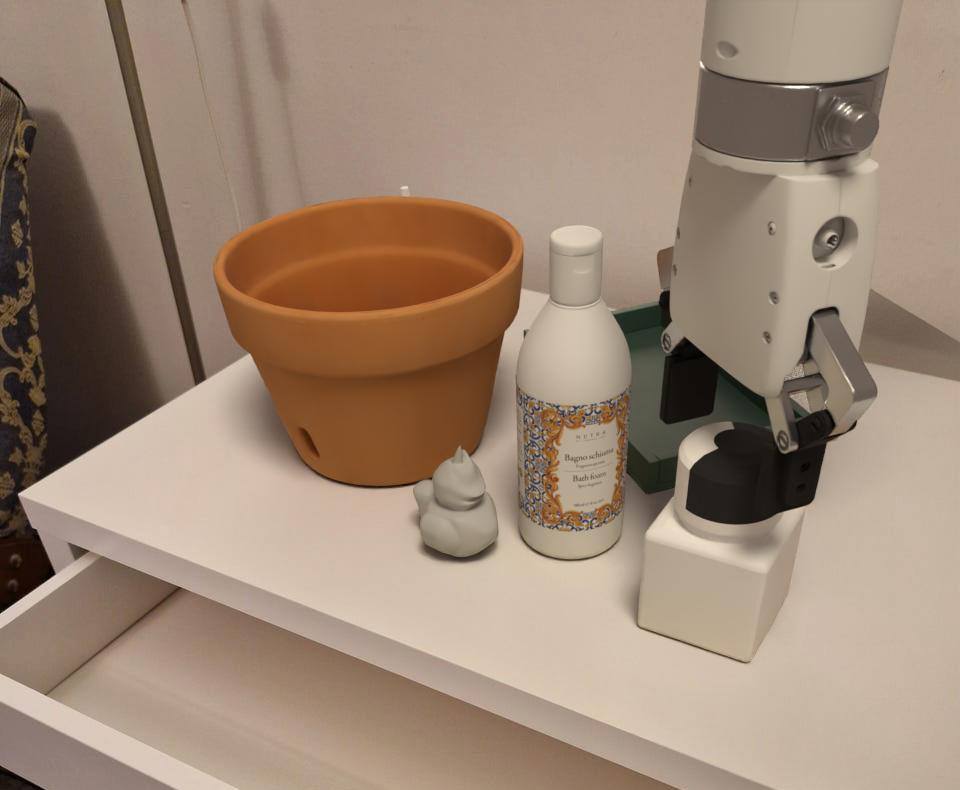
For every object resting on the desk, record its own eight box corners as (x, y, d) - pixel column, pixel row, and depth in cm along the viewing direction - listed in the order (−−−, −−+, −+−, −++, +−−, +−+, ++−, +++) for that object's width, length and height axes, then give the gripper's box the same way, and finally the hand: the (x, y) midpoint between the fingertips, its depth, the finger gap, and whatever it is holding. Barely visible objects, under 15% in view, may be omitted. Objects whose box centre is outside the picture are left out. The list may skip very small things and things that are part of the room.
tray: (664, 326, 90) (666, 298, 88) (812, 450, 74) (818, 419, 72) (523, 358, 86) (523, 329, 85) (647, 494, 71) (649, 463, 69)
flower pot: (371, 349, 89) (349, 174, 79) (577, 410, 80) (581, 220, 70) (198, 463, 76) (145, 272, 66) (417, 550, 67) (395, 344, 57)
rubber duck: (467, 582, 64) (459, 477, 59) (393, 544, 68) (380, 442, 62) (520, 541, 67) (517, 437, 62) (447, 507, 71) (438, 406, 65)
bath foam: (535, 571, 65) (531, 267, 51) (508, 511, 70) (498, 220, 56) (636, 552, 66) (659, 249, 52) (603, 494, 71) (616, 204, 57)
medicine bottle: (788, 595, 62) (824, 425, 54) (749, 666, 58) (782, 493, 50) (680, 562, 65) (699, 396, 57) (635, 628, 61) (648, 458, 52)
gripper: (1005, 156, 37) (893, 531, 49) (751, 56, 49) (709, 376, 61) (833, 187, 35) (759, 569, 47) (613, 76, 47) (597, 401, 59)
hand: (731, 460), depth 54 cm, fingers open, 9 cm apart
